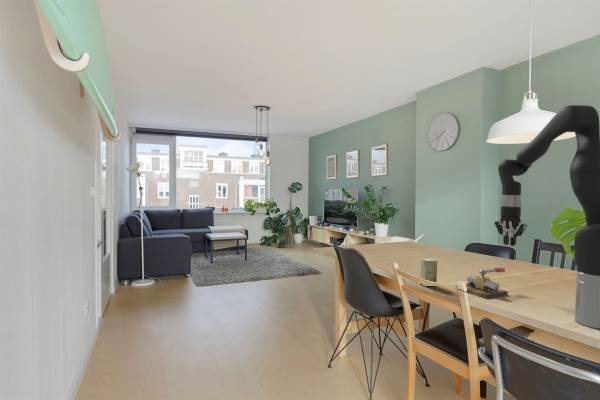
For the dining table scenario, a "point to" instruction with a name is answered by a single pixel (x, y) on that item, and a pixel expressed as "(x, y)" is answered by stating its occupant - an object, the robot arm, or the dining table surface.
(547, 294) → the dining table surface
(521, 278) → the dining table surface
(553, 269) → the dining table surface
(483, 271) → the lever
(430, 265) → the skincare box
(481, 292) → the mounting board
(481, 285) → the valve
